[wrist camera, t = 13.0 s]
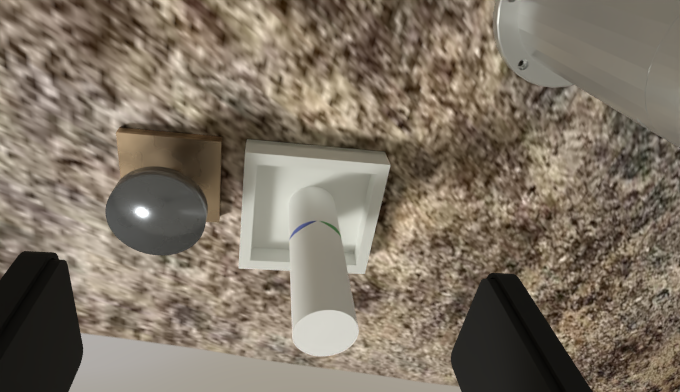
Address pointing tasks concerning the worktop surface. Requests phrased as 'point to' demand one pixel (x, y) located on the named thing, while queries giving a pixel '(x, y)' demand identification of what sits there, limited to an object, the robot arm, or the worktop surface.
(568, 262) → the worktop surface
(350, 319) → the tube
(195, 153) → the knob on plate
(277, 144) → the tray
